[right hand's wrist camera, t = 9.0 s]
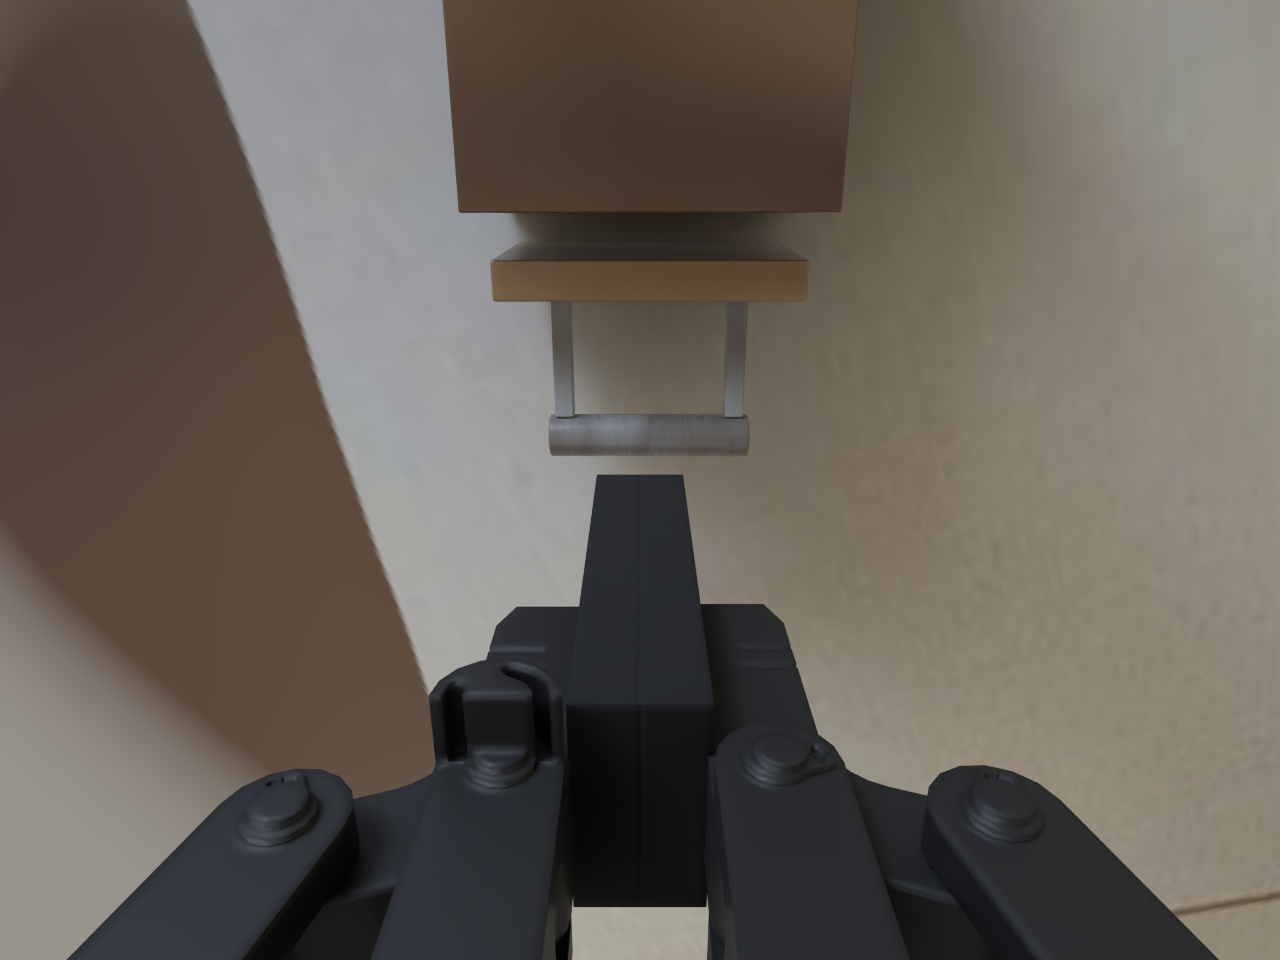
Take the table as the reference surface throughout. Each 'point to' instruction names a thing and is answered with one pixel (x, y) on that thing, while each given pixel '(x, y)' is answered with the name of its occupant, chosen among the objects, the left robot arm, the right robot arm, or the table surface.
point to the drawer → (649, 278)
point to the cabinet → (650, 104)
